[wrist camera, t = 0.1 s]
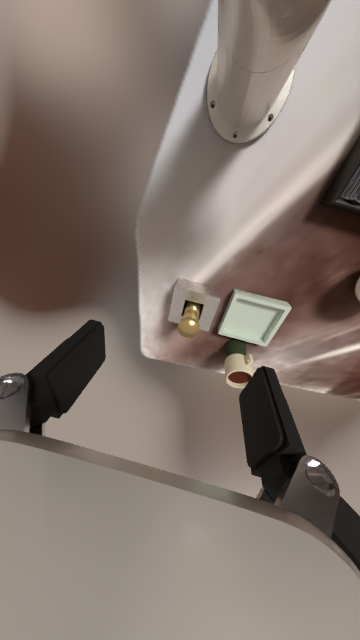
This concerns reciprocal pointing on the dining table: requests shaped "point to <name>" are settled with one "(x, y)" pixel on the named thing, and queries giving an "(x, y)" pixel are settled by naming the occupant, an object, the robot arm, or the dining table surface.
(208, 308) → the white square-hole block
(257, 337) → the tray
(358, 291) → the lidded jar
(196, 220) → the dining table surface
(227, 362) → the character mug
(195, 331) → the pin
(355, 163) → the food platter
